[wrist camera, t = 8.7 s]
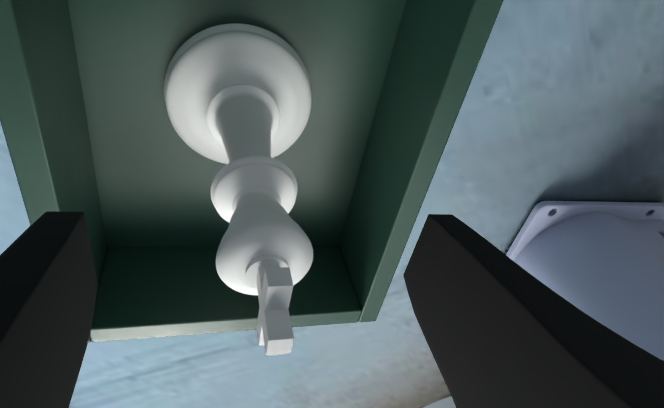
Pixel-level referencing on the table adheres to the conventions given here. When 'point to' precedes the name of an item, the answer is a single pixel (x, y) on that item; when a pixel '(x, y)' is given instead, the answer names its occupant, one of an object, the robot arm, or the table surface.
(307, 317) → the tote
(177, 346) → the table surface
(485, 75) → the table surface
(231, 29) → the chess piece
